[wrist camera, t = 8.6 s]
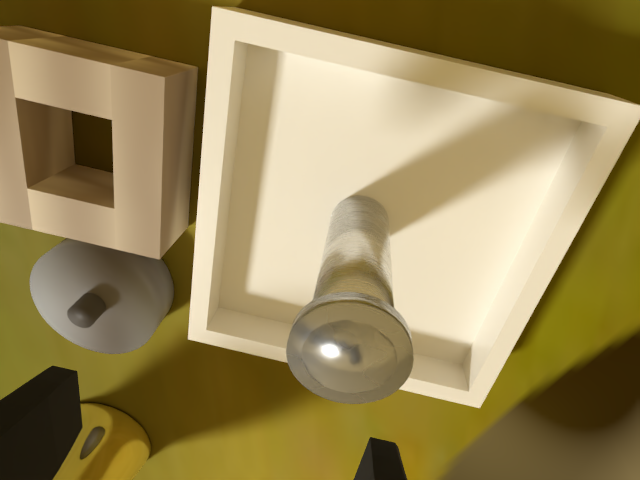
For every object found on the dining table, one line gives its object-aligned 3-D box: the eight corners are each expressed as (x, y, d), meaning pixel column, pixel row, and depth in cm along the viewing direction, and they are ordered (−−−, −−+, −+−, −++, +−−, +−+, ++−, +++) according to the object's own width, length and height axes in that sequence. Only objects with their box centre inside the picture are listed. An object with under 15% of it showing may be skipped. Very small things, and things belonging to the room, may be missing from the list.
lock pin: (314, 246, 19) (277, 388, 12) (329, 178, 17) (297, 292, 10) (386, 263, 19) (393, 415, 12) (408, 196, 17) (430, 323, 10)
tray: (206, 306, 22) (187, 339, 20) (235, 7, 16) (212, 6, 13) (469, 368, 22) (479, 408, 20) (607, 93, 15) (646, 107, 13)
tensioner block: (53, 310, 23) (12, 349, 21) (20, 25, 17) (-47, 28, 14) (180, 341, 23) (156, 383, 21) (198, 66, 17) (164, 77, 14)
